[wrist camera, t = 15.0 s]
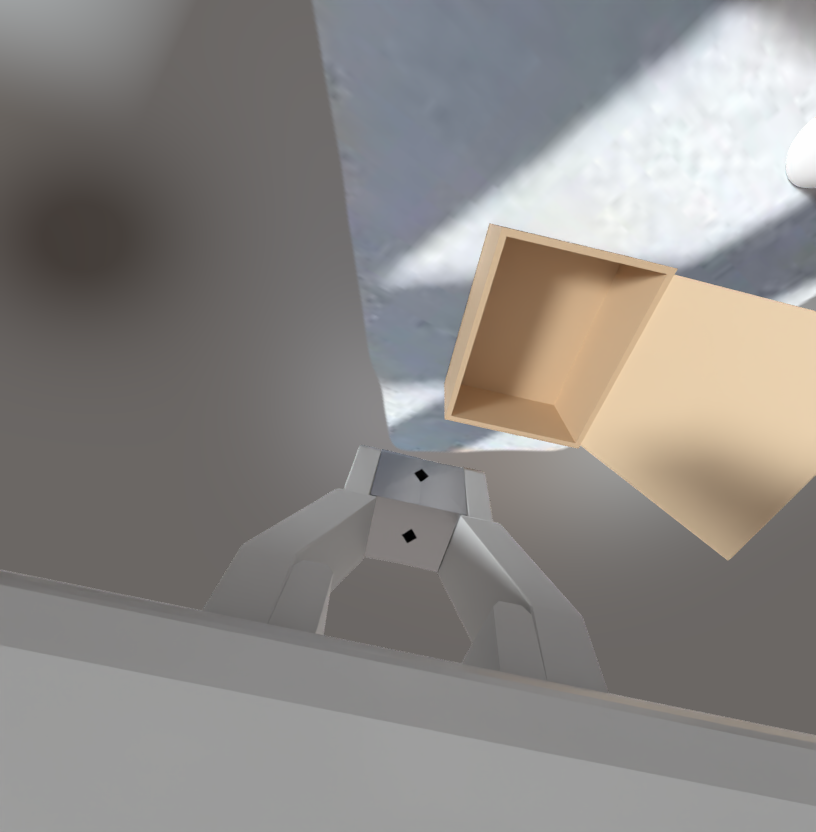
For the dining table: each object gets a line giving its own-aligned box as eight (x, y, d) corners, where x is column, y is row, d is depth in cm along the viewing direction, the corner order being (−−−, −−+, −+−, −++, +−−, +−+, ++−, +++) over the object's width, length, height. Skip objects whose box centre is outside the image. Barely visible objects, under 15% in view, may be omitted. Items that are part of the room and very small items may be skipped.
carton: (444, 382, 50) (444, 419, 41) (489, 223, 40) (502, 227, 31) (555, 407, 50) (578, 448, 42) (627, 256, 40) (677, 268, 32)
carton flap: (727, 560, 30) (730, 559, 30) (946, 345, 20) (948, 345, 20) (580, 445, 42) (582, 444, 42) (674, 274, 32) (676, 275, 32)
